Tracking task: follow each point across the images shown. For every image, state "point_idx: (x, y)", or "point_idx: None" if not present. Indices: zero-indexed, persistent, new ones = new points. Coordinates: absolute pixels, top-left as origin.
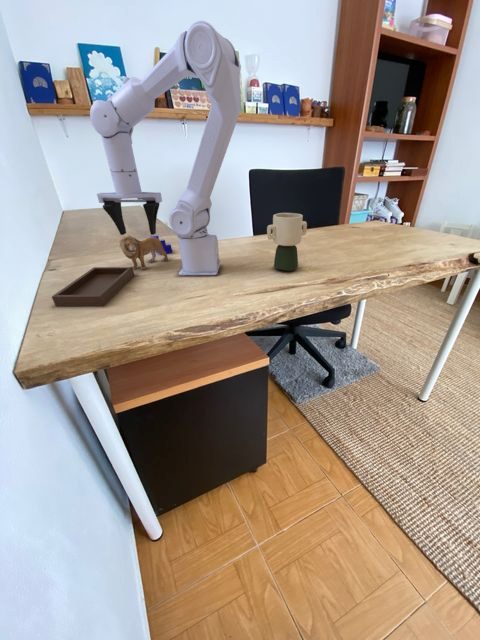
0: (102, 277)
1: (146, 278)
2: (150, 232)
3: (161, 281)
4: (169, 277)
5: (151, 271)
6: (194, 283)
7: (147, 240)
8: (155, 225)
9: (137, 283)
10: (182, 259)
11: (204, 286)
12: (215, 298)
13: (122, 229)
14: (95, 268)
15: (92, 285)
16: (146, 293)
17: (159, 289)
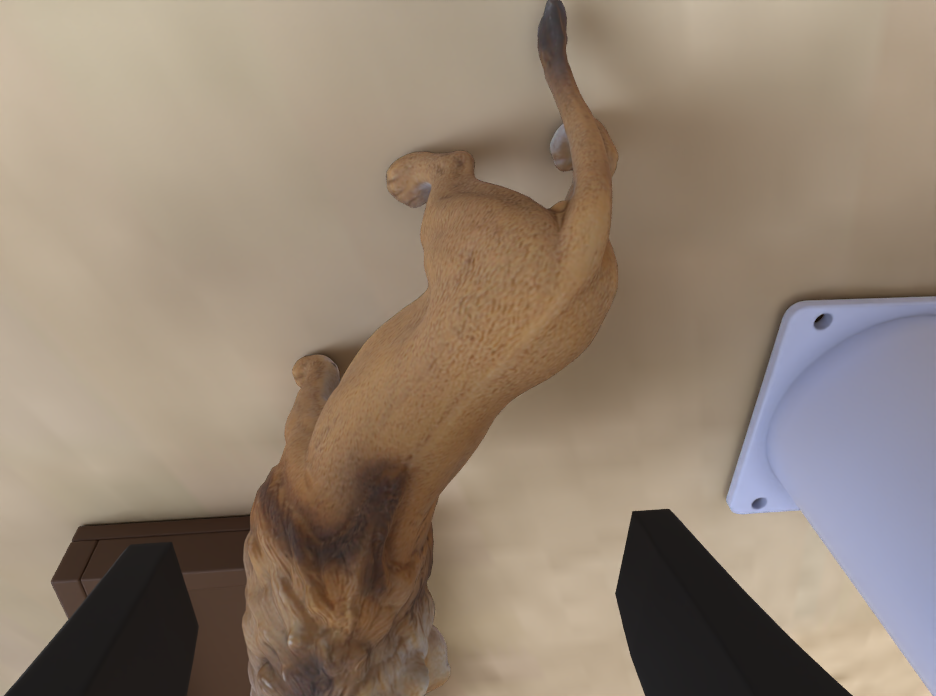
0: (197, 598)
1: (501, 543)
2: (627, 631)
3: (613, 573)
4: None
5: (498, 430)
6: (812, 582)
7: (483, 415)
8: (737, 600)
9: (468, 606)
10: (825, 544)
11: (860, 607)
12: (880, 692)
13: (171, 680)
14: (86, 595)
15: (225, 687)
16: (561, 687)
17: (619, 651)
